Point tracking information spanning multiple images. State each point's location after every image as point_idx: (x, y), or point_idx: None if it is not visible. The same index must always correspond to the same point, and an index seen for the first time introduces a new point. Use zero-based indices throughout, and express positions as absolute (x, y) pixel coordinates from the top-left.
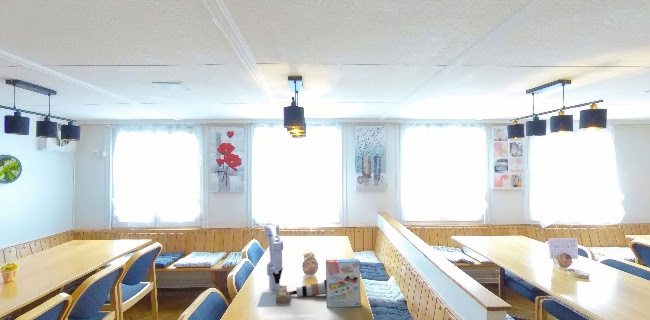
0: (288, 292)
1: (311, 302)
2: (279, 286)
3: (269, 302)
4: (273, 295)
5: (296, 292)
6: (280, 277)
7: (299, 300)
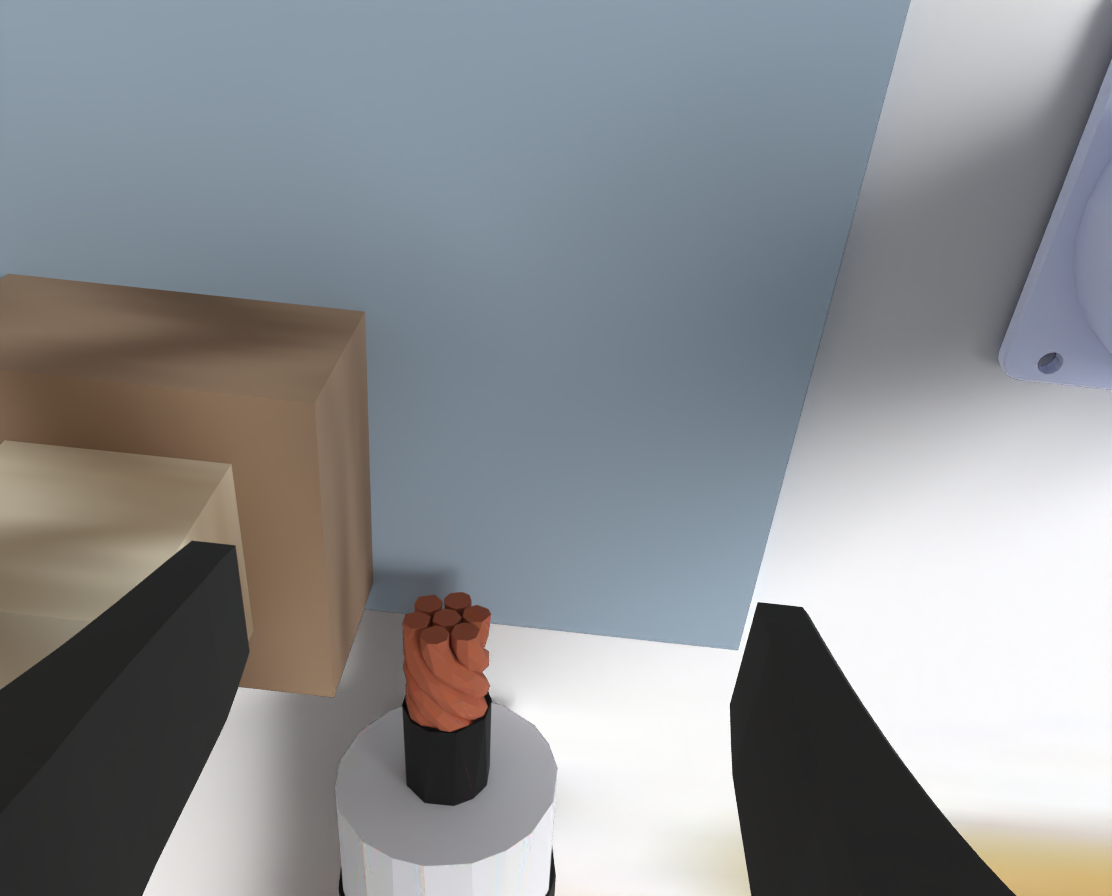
0: (266, 665)
1: (206, 842)
2: (46, 621)
3: (45, 84)
4: (581, 197)
5: (406, 770)
6: (735, 787)
7: (288, 707)
